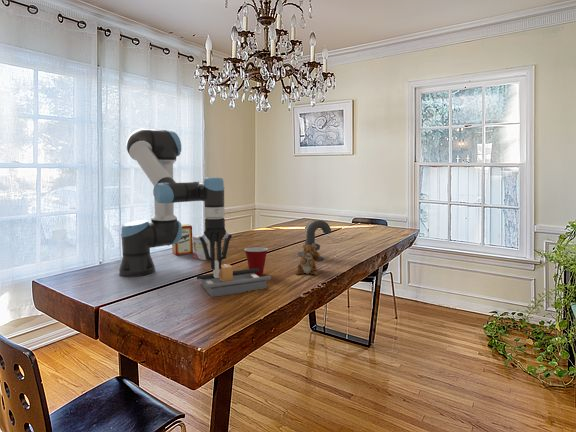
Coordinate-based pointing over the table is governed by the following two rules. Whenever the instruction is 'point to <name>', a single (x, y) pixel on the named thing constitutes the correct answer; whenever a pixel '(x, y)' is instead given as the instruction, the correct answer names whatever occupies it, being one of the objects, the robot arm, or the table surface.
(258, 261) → the plastic cup
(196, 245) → the ink box
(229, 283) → the grey tray
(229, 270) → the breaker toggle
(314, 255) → the stuffed squirrel
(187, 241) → the orange cardboard box
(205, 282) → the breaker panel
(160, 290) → the table surface
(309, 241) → the faucet
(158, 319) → the table surface
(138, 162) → the robot arm
